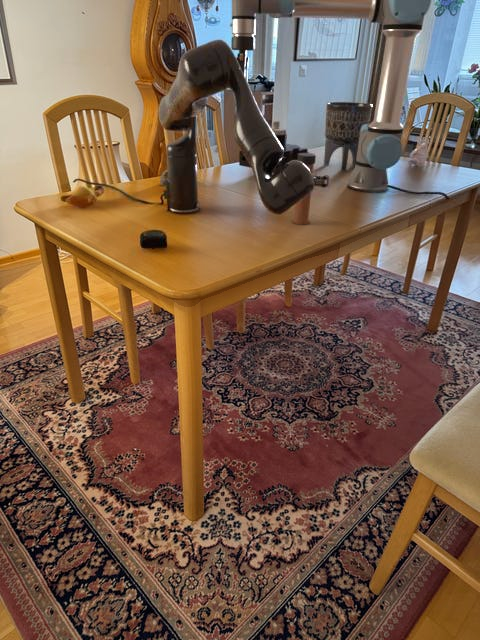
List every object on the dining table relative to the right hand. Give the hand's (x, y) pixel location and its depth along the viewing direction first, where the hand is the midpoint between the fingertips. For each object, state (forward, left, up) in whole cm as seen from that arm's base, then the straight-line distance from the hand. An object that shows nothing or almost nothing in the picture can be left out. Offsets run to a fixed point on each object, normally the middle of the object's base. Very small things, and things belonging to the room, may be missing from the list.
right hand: (241, 109), depth 155 cm
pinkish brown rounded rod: (-21, +34, -28) cm, 48 cm away
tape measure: (+18, +61, -28) cm, 69 cm away
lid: (-21, +34, -8) cm, 40 cm away
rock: (+25, -7, -28) cm, 38 cm away
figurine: (-80, -60, -28) cm, 104 cm away
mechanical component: (-15, -33, -28) cm, 46 cm away
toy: (+50, +24, -28) cm, 62 cm away
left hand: (-19, +50, -12) cm, 55 cm away
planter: (-44, -51, -28) cm, 73 cm away
